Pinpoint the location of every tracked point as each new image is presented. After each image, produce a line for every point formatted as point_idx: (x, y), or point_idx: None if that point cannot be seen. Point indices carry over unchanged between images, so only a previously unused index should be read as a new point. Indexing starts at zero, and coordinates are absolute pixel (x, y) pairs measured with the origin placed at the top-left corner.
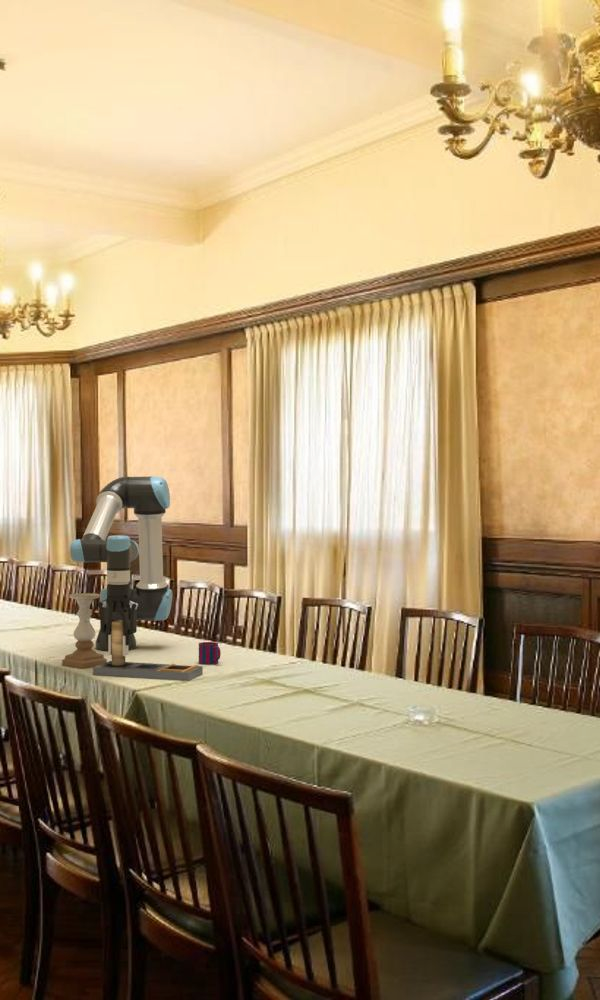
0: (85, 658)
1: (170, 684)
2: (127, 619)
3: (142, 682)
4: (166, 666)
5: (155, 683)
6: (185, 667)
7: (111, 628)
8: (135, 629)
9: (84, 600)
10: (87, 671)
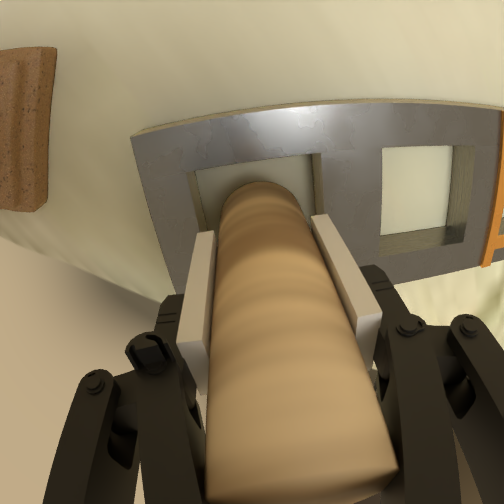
0: (14, 194)
1: (499, 296)
2: (443, 488)
3: (430, 313)
4: (500, 188)
5: (466, 305)
6: None
7: (196, 425)
8: (484, 349)
9: None
10: (107, 241)
